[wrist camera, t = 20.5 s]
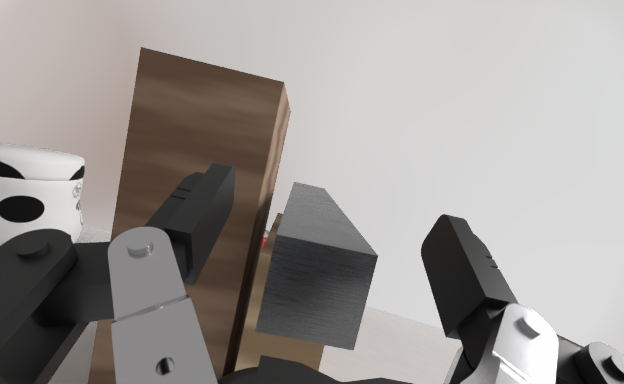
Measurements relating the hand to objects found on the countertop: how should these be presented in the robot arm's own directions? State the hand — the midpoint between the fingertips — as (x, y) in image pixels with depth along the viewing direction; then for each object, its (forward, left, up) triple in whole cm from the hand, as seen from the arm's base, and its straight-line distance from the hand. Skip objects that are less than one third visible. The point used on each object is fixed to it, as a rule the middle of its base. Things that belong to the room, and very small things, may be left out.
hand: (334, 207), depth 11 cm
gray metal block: (+9, +9, -5) cm, 14 cm away
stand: (+7, +15, -25) cm, 31 cm away
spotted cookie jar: (-6, +63, -26) cm, 68 cm away
